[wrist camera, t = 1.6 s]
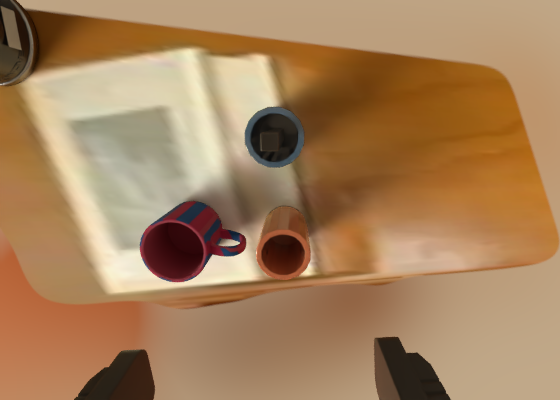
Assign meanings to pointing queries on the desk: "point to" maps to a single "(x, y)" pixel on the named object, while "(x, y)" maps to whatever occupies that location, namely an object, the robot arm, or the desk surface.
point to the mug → (186, 242)
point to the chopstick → (272, 139)
